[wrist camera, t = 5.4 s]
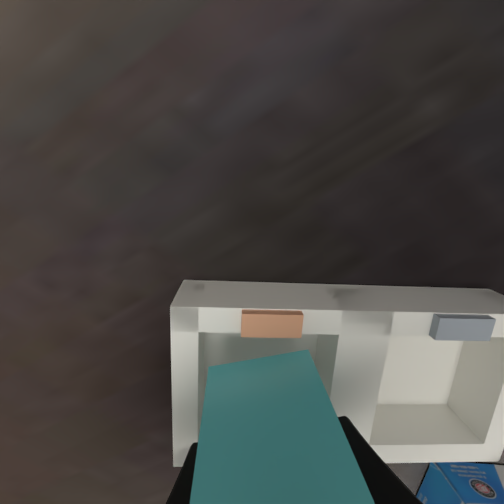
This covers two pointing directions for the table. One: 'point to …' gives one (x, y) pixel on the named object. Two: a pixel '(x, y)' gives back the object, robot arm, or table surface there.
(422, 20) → the table surface
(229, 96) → the table surface
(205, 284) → the white divided tray
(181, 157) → the table surface
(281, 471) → the teal rectangular block
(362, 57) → the table surface
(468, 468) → the ink box
